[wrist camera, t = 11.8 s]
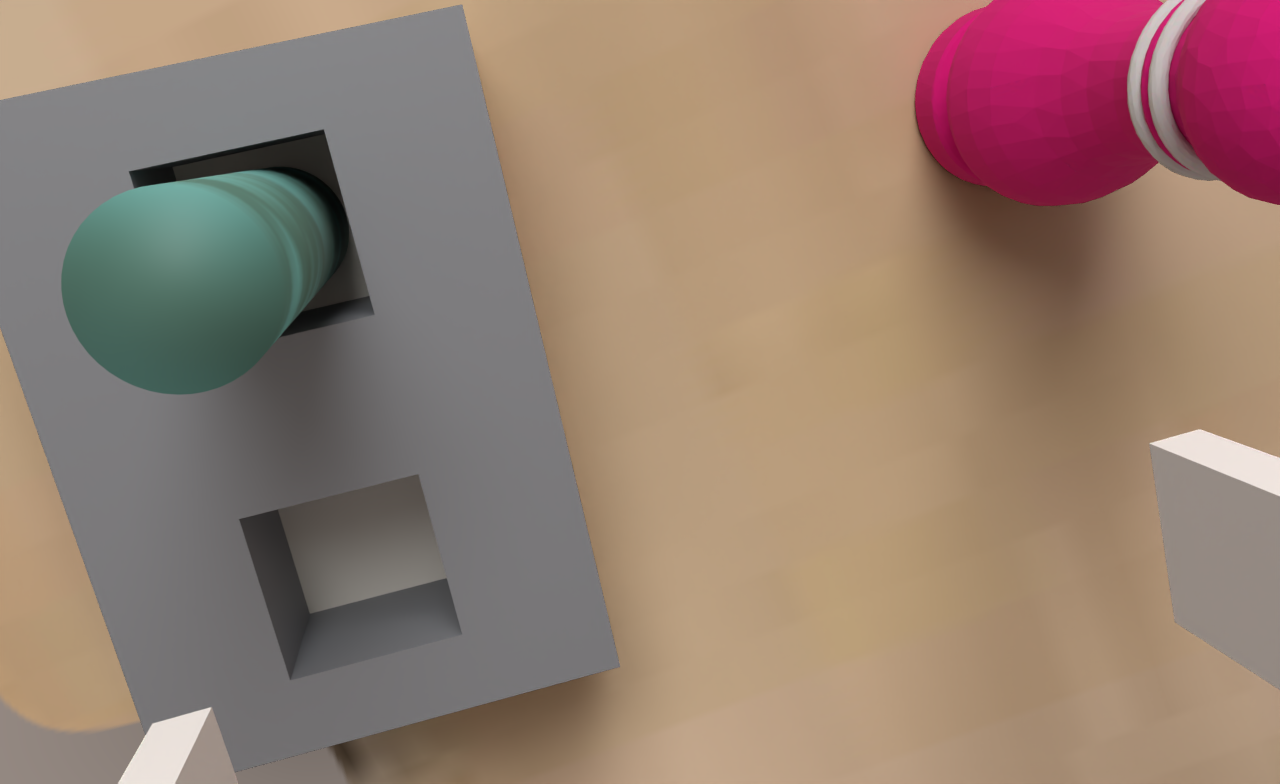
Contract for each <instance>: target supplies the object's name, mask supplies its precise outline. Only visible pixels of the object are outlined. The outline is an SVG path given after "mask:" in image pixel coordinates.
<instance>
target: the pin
mask: <svg viewBox="0 0 1280 784" xmlns="http://www.w3.org/2000/svg"><path fill="white" fill-rule="evenodd" d="M348 243H349V225H348V220H347V216H346V213H345V210H344V208H343V206H342V204H341V202H340V200H339V198H338V197H337V196H336V194H335V193H334V192H333V191H332V189H331V188H330V187H329V186H328V185H327V184H325V183H324V182H323V181H322V180H320V179H319V178H317V177H316V176H314V175H312V174H310V173H308V172H306V171H303V170H300V169H296V168H292V167H283V166H281V167H268V168H262V169H255V170H249V171H242V172H235V173H229V174H222V175H215V176H209V177H202V178H196V179H189V180H182V181H176V182H169V183H163V184H156V185H149V186H143V187H139V188H135V189H132V190H128V191H125V192H123V193H121V194H119V195H116V196H114V197H112V198H111V199H109V200H108V201H106V202H104V203H103V204H101V205H100V206H99V207H98V208H96V209H95V210H94V211H93V212H92V213H91V214H90V215H89V216H88V217H87V218H86V219H85V220H84V221H83V222H82V224H81V225H80V226H79V228H78V229H77V231H76V232H75V234H74V235H73V238H72V240H71V242H70V244H69V246H68V248H67V251H66V255H65V258H64V261H63V268H62V274H61V291H62V299H63V305H64V308H65V312H66V316H67V318H68V321H69V323H70V325H71V328H72V330H73V332H74V333H75V335H76V337H77V339H78V340H79V342H80V343H81V345H82V346H83V347H84V348H85V350H86V351H87V352H88V354H89V355H90V356H91V357H92V358H93V359H94V360H95V361H96V362H97V363H98V364H99V365H101V366H102V367H103V368H105V369H106V370H107V371H108V372H110V373H111V374H113V375H114V376H116V377H118V378H119V379H121V380H123V381H125V382H127V383H129V384H131V385H134V386H136V387H139V388H142V389H145V390H148V391H152V392H158V393H163V394H175V395H183V394H195V393H201V392H206V391H210V390H213V389H216V388H219V387H222V386H224V385H226V384H228V383H230V382H232V381H234V380H236V379H237V378H239V377H240V376H242V375H244V374H245V373H246V372H247V371H248V370H250V369H251V368H252V367H253V366H254V365H255V364H256V363H257V362H258V361H259V360H260V359H261V358H262V357H263V355H264V354H265V353H266V352H267V351H268V350H269V348H270V347H271V346H272V345H273V344H274V343H275V341H276V340H277V339H278V338H279V337H280V336H281V335H282V333H283V332H284V331H285V330H286V329H287V328H288V326H289V325H290V324H291V323H292V322H293V321H294V319H295V318H296V317H297V316H298V315H299V314H300V313H301V311H302V310H303V309H304V308H305V307H306V306H307V304H308V303H309V302H310V301H311V300H312V299H313V297H314V296H315V295H316V294H317V293H318V292H319V290H320V289H321V288H322V287H323V286H324V285H325V284H326V282H327V281H328V280H329V279H330V278H331V277H332V275H333V274H334V273H335V272H336V271H337V269H338V268H339V266H340V265H341V263H342V261H343V259H344V257H345V254H346V251H347V248H348Z"/></svg>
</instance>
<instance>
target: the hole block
mask: <svg viewBox="0 0 1280 784" xmlns="http://www.w3.org/2000/svg"><path fill="white" fill-rule="evenodd" d="M281 166H283V167H292V168H296V169H300V170H303V171H306V172H308V173H310V174H312V175H314V176H316V177H317V178H319V179H320V180H322V181H323V182H324V183H325V184H327V185H328V186H329V187H330V188H331V189H332V191H333V192H334V193H335V194H336V196H337V197H338V198H339V200H340V202H341V204H342V206H343V208H344V210H345V213H346V216H347V220H348V225H349V243H348V248H347V251H346V254H345V257H344V259H343V261H342V263H341V265H340V266H339V268H338V269H337V271H336V272H335V273H334V274H333V275H332V277H331V278H330V279H329V280H328V281H327V282H326V284H325V285H324V286H323V287H322V288H321V289H320V290H319V292H318V293H317V294H316V295H315V296H314V297H313V299H312V300H311V301H310V302H309V303H308V304H307V306H306V307H305V308H304V309H303V310H302V311H301V313H300V314H299V315H298V316H297V317H296V318H295V319H294V321H293V322H292V323H291V324H290V325H289V326H288V328H287V329H286V330H285V331H284V332H283V333H282V335H281V336H280V337H279V338H278V339H277V340H276V341H275V343H274V344H273V345H272V346H271V347H270V348H269V350H268V351H267V352H266V353H265V354H264V355H263V357H262V358H261V359H260V360H259V361H258V362H257V363H256V364H255V365H254V366H253V367H252V368H251V369H250V370H248V371H247V372H246V373H245V374H244V375H242V376H240V377H239V378H237V379H236V380H234V381H232V382H230V383H228V384H226V385H224V386H222V387H219V388H216V389H213V390H210V391H206V392H201V393H195V394H183V395H175V394H163V393H158V392H152V391H148V390H145V389H142V388H139V387H136V386H134V385H131V384H129V383H127V382H125V381H123V380H121V379H119V378H118V377H116V376H114V375H113V374H111V373H110V372H108V371H107V370H106V369H105V368H103V367H102V366H101V365H99V364H98V363H97V362H96V361H95V360H94V359H93V358H92V357H91V356H90V355H89V354H88V352H87V351H86V350H85V348H84V347H83V346H82V345H81V343H80V342H79V340H78V339H77V337H76V335H75V333H74V332H73V330H72V328H71V325H70V323H69V321H68V318H67V316H66V312H65V308H64V305H63V299H62V291H61V274H62V268H63V261H64V258H65V255H66V251H67V248H68V246H69V244H70V242H71V240H72V238H73V235H74V234H75V232H76V231H77V229H78V228H79V226H80V225H81V224H82V222H83V221H84V220H85V219H86V218H87V217H88V216H89V215H90V214H91V213H92V212H93V211H94V210H95V209H96V208H98V207H99V206H100V205H101V204H103V203H104V202H106V201H108V200H109V199H111V198H112V197H114V196H116V195H119V194H121V193H123V192H125V191H128V190H132V189H135V188H139V187H143V186H149V185H156V184H163V183H169V182H176V181H182V180H189V179H196V178H202V177H209V176H215V175H222V174H229V173H235V172H242V171H249V170H255V169H262V168H268V167H281ZM0 328H1V331H2V334H3V337H4V339H5V342H6V345H7V348H8V351H9V353H10V356H11V359H12V362H13V365H14V367H15V370H16V373H17V376H18V379H19V382H20V384H21V387H22V390H23V393H24V396H25V398H26V401H27V404H28V407H29V410H30V412H31V415H32V418H33V421H34V424H35V426H36V429H37V432H38V435H39V438H40V440H41V443H42V446H43V449H44V452H45V455H46V457H47V460H48V463H49V466H50V469H51V471H52V474H53V477H54V480H55V483H56V485H57V488H58V491H59V494H60V497H61V499H62V502H63V505H64V508H65V511H66V513H67V516H68V519H69V522H70V525H71V528H72V530H73V533H74V536H75V539H76V542H77V544H78V547H79V550H80V553H81V556H82V558H83V561H84V564H85V567H86V570H87V572H88V575H89V578H90V581H91V584H92V586H93V589H94V592H95V595H96V598H97V601H98V603H99V606H100V609H101V612H102V615H103V617H104V620H105V623H106V626H107V629H108V631H109V634H110V637H111V640H112V643H113V645H114V648H115V651H116V654H117V657H118V659H119V662H120V665H121V668H122V671H123V674H124V676H125V679H126V682H127V685H128V688H129V690H130V693H131V696H132V699H133V702H134V704H135V707H136V710H137V713H138V716H139V718H140V721H141V724H142V727H143V730H144V732H145V735H146V734H147V732H148V730H149V729H150V727H151V725H152V724H153V723H156V722H160V721H164V720H167V719H171V718H174V717H178V716H181V715H185V714H188V713H192V712H196V711H199V710H203V709H206V708H210V707H212V709H213V712H214V715H215V718H216V721H217V723H218V726H219V729H220V732H221V735H222V738H223V741H224V743H225V746H226V749H227V752H228V755H229V758H230V761H231V763H232V766H233V769H234V772H238V771H242V770H245V769H249V768H253V767H256V766H260V765H264V764H267V763H271V762H275V761H278V760H282V759H286V758H289V757H293V756H297V755H300V754H304V753H307V752H311V751H315V750H318V749H322V748H326V747H329V746H333V745H337V744H340V743H344V742H348V741H351V740H355V739H359V738H362V737H366V736H370V735H373V734H377V733H380V732H384V731H388V730H391V729H395V728H399V727H402V726H406V725H410V724H413V723H417V722H421V721H424V720H428V719H432V718H435V717H439V716H442V715H446V714H450V713H453V712H457V711H461V710H464V709H468V708H472V707H475V706H479V705H483V704H486V703H490V702H494V701H497V700H501V699H504V698H508V697H512V696H515V695H519V694H523V693H526V692H530V691H534V690H537V689H541V688H545V687H548V686H552V685H556V684H559V683H563V682H566V681H570V680H574V679H577V678H581V677H585V676H588V675H592V674H596V673H599V672H603V671H607V670H610V669H614V668H618V667H620V664H619V660H618V656H617V651H616V647H615V643H614V639H613V635H612V630H611V626H610V622H609V618H608V614H607V609H606V605H605V601H604V597H603V593H602V589H601V584H600V580H599V576H598V572H597V568H596V563H595V559H594V555H593V551H592V547H591V542H590V538H589V534H588V530H587V526H586V522H585V517H584V513H583V509H582V505H581V501H580V496H579V492H578V488H577V484H576V480H575V475H574V471H573V467H572V463H571V459H570V454H569V450H568V446H567V442H566V438H565V434H564V429H563V425H562V421H561V417H560V413H559V408H558V404H557V400H556V396H555V392H554V387H553V383H552V379H551V375H550V371H549V366H548V362H547V358H546V354H545V350H544V346H543V341H542V337H541V333H540V329H539V325H538V320H537V316H536V312H535V308H534V304H533V299H532V295H531V291H530V287H529V283H528V278H527V274H526V270H525V266H524V262H523V258H522V253H521V249H520V245H519V241H518V237H517V232H516V228H515V224H514V220H513V216H512V211H511V207H510V203H509V199H508V195H507V190H506V186H505V182H504V178H503V174H502V170H501V165H500V161H499V157H498V153H497V149H496V144H495V140H494V136H493V132H492V128H491V123H490V119H489V115H488V111H487V107H486V102H485V98H484V94H483V90H482V86H481V82H480V77H479V73H478V69H477V65H476V61H475V56H474V52H473V48H472V44H471V40H470V35H469V31H468V27H467V23H466V19H465V14H464V10H463V6H462V5H457V6H452V7H448V8H443V9H438V10H433V11H428V12H424V13H419V14H414V15H409V16H404V17H399V18H395V19H390V20H385V21H380V22H375V23H370V24H366V25H361V26H356V27H351V28H346V29H341V30H337V31H332V32H327V33H322V34H317V35H312V36H308V37H303V38H298V39H293V40H288V41H284V42H279V43H274V44H269V45H264V46H259V47H255V48H250V49H245V50H240V51H235V52H230V53H226V54H221V55H216V56H211V57H206V58H201V59H197V60H192V61H187V62H182V63H177V64H172V65H168V66H163V67H158V68H153V69H148V70H144V71H139V72H134V73H129V74H124V75H119V76H115V77H110V78H105V79H100V80H95V81H90V82H86V83H81V84H76V85H71V86H66V87H61V88H57V89H52V90H47V91H42V92H37V93H33V94H28V95H23V96H18V97H13V98H8V99H4V100H0Z"/></svg>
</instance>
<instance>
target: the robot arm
mask: <svg viewBox="0 0 1280 784" xmlns="http://www.w3.org/2000/svg"><path fill="white" fill-rule="evenodd" d="M1149 445H1150V452H1151V459H1152V466H1153V473H1154V480H1155V487H1156V494H1157V501H1158V508H1159V515H1160V522H1161V529H1162V536H1163V543H1164V550H1165V557H1166V564H1167V571H1168V578H1169V585H1170V592H1171V599H1172V606H1173V613H1174V620H1175V623H1177V624H1179V625H1180V626H1182V627H1183V628H1185V629H1186V630H1188V631H1189V632H1191V633H1192V634H1194V635H1196V636H1197V637H1199V638H1200V639H1202V640H1203V641H1205V642H1206V643H1208V644H1209V645H1211V646H1213V647H1214V648H1216V649H1217V650H1219V651H1220V652H1222V653H1223V654H1225V655H1227V656H1228V657H1230V658H1231V659H1233V660H1234V661H1236V662H1237V663H1239V664H1240V665H1242V666H1244V667H1245V668H1247V669H1248V670H1250V671H1251V672H1253V673H1254V674H1256V675H1258V676H1259V677H1261V678H1262V679H1264V680H1265V681H1267V682H1268V683H1270V684H1271V685H1273V686H1275V687H1276V688H1278V689H1279V690H1280V458H1279V457H1276V456H1273V455H1270V454H1267V453H1265V452H1262V451H1259V450H1256V449H1254V448H1251V447H1248V446H1245V445H1242V444H1240V443H1237V442H1234V441H1231V440H1228V439H1226V438H1223V437H1220V436H1217V435H1214V434H1212V433H1209V432H1206V431H1203V430H1201V429H1199V430H1195V431H1192V432H1188V433H1184V434H1181V435H1177V436H1174V437H1170V438H1167V439H1163V440H1160V441H1156V442H1152V443H1149ZM118 784H238V781H237V778H236V775H235V772H234V769H233V766H232V763H231V761H230V758H229V755H228V752H227V749H226V746H225V743H224V741H223V738H222V735H221V732H220V729H219V726H218V723H217V721H216V718H215V715H214V712H213V709H212V707H210V708H206V709H203V710H199V711H196V712H192V713H188V714H185V715H181V716H178V717H174V718H171V719H167V720H164V721H160V722H156V723H153V724H152V725H151V727H150V729H149V730H148V732H147V734H146V736H145V737H144V739H143V741H142V743H141V744H140V746H139V748H138V750H137V751H136V753H135V755H134V757H133V758H132V760H131V762H130V763H129V765H128V767H127V769H126V770H125V772H124V774H123V776H122V777H121V779H120V781H119V783H118Z"/></svg>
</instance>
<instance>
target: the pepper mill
mask: <svg viewBox="0 0 1280 784" xmlns="http://www.w3.org/2000/svg"><path fill="white" fill-rule="evenodd" d="M915 107H916V117H917V121H918V126H919V130H920V132H921V135H922V137H923V139H924V142H925V144H926V146H927V148H928V149H929V151H930V152H931V153H932V155H933V156H934V158H935V159H936V160H937V161H938V162H939V163H940V165H941V166H942V167H944V168H945V169H946V170H947V171H949V172H950V173H951V174H953V175H955V176H957V177H958V178H960V179H962V180H965V181H967V182H970V183H973V184H977V185H983V186H988V187H989V188H991V189H993V190H994V191H996V192H998V193H999V194H1001V195H1002V196H1005V197H1007V198H1010V199H1013V200H1015V201H1018V202H1020V203H1025V204H1030V205H1036V206H1058V205H1068V204H1078V203H1085V202H1088V201H1091V200H1094V199H1097V198H1101V197H1103V196H1105V195H1107V194H1110V193H1112V192H1114V191H1116V190H1118V189H1120V188H1122V187H1124V186H1127V185H1129V184H1131V183H1132V182H1134V181H1135V180H1137V179H1138V178H1140V177H1141V176H1143V175H1144V174H1145V173H1147V172H1148V171H1149V170H1150V169H1151V168H1153V167H1154V166H1155V165H1156V164H1157V163H1158V162H1159V163H1160V164H1161V165H1163V166H1164V167H1166V168H1167V169H1169V170H1170V171H1172V172H1174V173H1177V174H1179V175H1182V176H1185V177H1189V178H1193V179H1197V180H1207V181H1212V180H1219V181H1223V182H1224V183H1225V184H1227V185H1228V186H1229V187H1231V188H1232V189H1233V190H1235V191H1237V192H1239V193H1241V194H1243V195H1245V196H1247V197H1249V198H1253V199H1257V200H1261V201H1265V202H1269V203H1273V204H1277V205H1280V0H1167V1H1166V2H1165V3H1162V2H1160V1H1159V0H993V1H992V2H991V3H990V4H989V5H988V6H986V7H984V8H981V9H977V10H974V11H972V12H970V13H968V14H966V15H964V16H962V17H961V18H959V19H958V20H956V21H955V22H954V23H953V24H952V25H950V26H949V27H948V28H947V29H946V30H945V31H944V32H942V34H941V35H940V36H939V37H938V38H937V40H936V41H935V42H934V44H933V45H932V47H931V49H930V50H929V52H928V54H927V56H926V58H925V60H924V62H923V64H922V67H921V70H920V73H919V77H918V80H917V87H916V95H915Z"/></svg>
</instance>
